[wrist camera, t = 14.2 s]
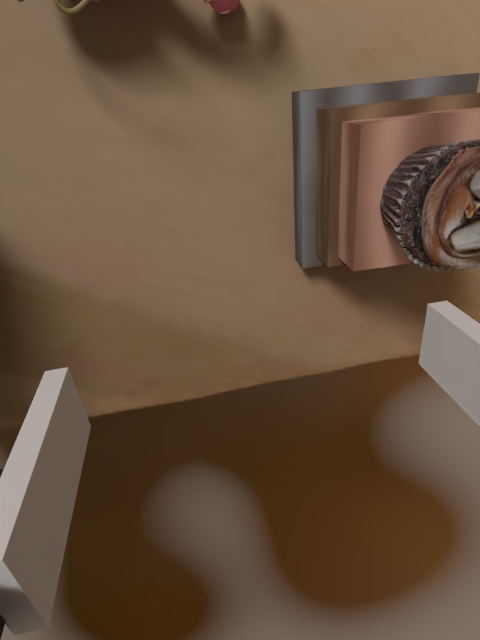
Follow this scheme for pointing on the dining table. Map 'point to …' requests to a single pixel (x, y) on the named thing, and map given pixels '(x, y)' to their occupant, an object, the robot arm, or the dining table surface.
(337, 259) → the stepped pyramid block
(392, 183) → the cupcake
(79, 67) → the dining table surface
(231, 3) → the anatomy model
